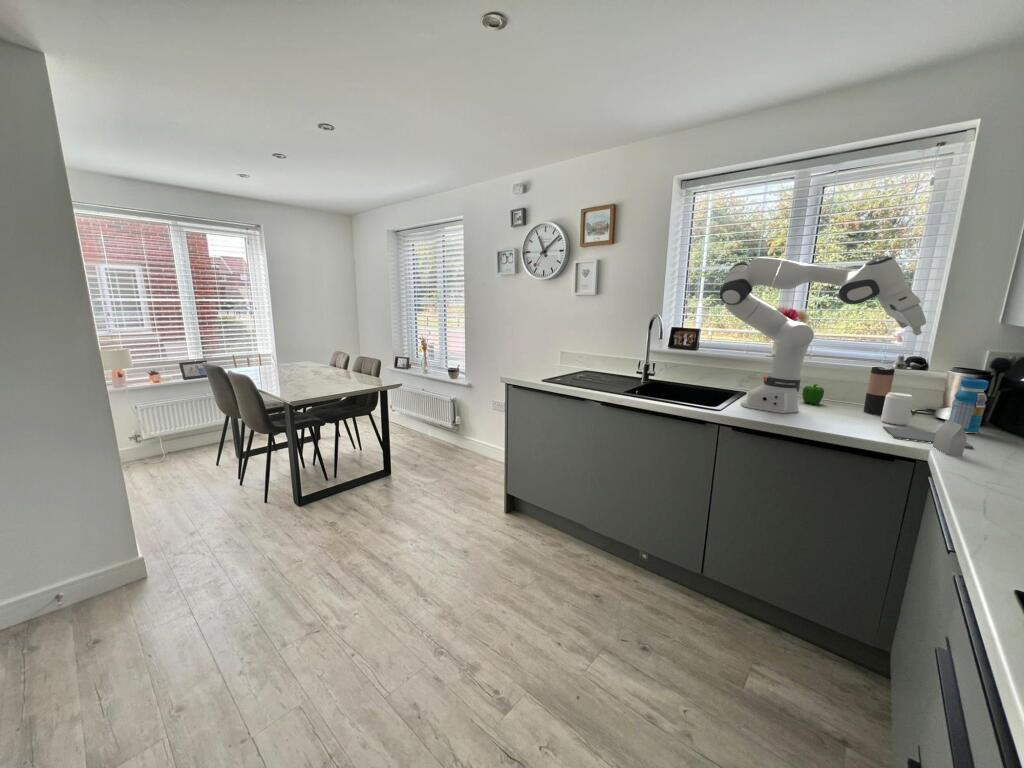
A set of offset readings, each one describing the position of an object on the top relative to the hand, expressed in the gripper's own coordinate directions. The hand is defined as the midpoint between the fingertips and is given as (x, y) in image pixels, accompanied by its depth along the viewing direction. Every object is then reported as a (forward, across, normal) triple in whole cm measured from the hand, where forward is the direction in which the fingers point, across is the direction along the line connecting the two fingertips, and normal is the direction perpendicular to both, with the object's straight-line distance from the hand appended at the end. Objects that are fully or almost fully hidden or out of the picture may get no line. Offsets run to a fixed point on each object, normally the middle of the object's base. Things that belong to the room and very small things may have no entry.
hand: (911, 330), depth 147 cm
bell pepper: (+31, -30, -36) cm, 56 cm away
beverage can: (+37, -4, -16) cm, 41 cm away
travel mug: (+40, -20, -18) cm, 48 cm away
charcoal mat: (+34, +15, -13) cm, 39 cm away
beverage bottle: (+47, -1, +1) cm, 47 cm away
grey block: (+30, +30, -13) cm, 45 cm away
